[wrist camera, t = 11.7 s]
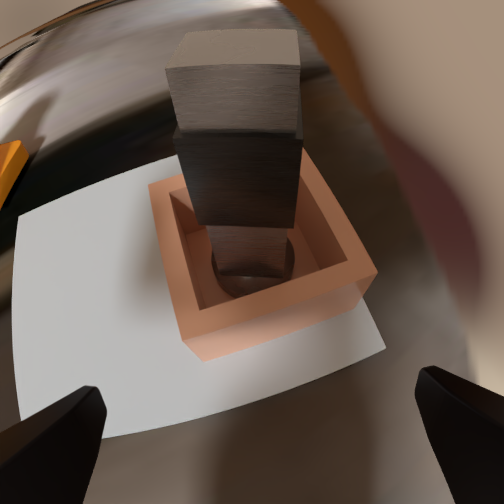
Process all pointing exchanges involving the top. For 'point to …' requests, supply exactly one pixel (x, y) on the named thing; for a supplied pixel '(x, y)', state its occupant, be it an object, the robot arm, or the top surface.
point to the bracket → (10, 165)
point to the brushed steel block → (241, 148)
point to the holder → (271, 299)
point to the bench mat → (140, 318)
